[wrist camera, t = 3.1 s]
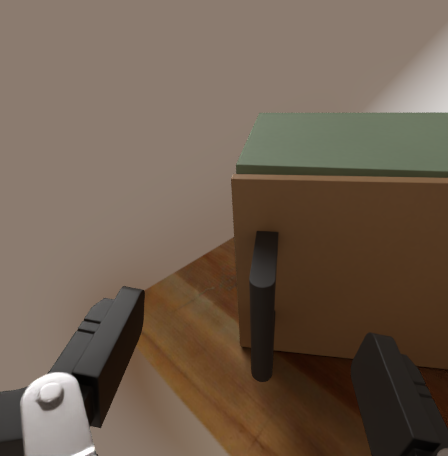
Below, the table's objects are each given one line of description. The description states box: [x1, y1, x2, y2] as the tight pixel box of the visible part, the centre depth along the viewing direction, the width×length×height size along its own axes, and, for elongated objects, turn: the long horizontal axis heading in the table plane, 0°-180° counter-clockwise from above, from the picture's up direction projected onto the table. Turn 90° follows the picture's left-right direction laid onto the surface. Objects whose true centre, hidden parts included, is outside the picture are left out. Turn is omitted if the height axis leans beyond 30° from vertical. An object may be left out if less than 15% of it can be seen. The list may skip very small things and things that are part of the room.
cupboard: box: [236, 113, 448, 178], centre depth 32 cm, size 13×21×19 cm, turn 78°
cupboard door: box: [231, 174, 448, 382], centre depth 23 cm, size 7×21×18 cm, turn 80°
